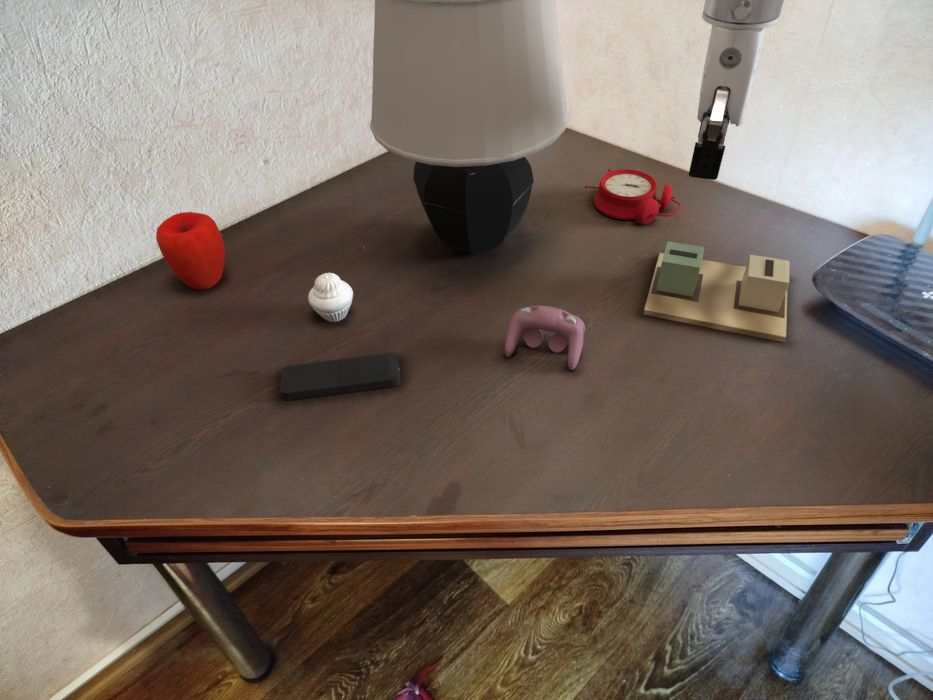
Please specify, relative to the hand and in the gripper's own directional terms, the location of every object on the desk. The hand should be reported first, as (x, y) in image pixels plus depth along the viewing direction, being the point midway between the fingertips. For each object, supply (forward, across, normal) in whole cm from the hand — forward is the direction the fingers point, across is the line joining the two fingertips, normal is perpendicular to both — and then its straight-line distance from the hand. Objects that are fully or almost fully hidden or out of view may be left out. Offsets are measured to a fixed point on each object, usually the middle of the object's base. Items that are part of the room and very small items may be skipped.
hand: (706, 157), depth 77 cm
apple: (+20, -19, +68) cm, 73 cm away
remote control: (+20, -31, +38) cm, 53 cm away
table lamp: (+20, +2, +32) cm, 38 cm away
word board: (+20, 0, -6) cm, 21 cm away
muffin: (+20, -20, +44) cm, 53 cm away
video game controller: (+20, -18, +14) cm, 31 cm away
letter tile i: (+19, 0, 0) cm, 19 cm away
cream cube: (+19, 0, -11) cm, 22 cm away
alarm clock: (+20, +20, +10) cm, 30 cm away
